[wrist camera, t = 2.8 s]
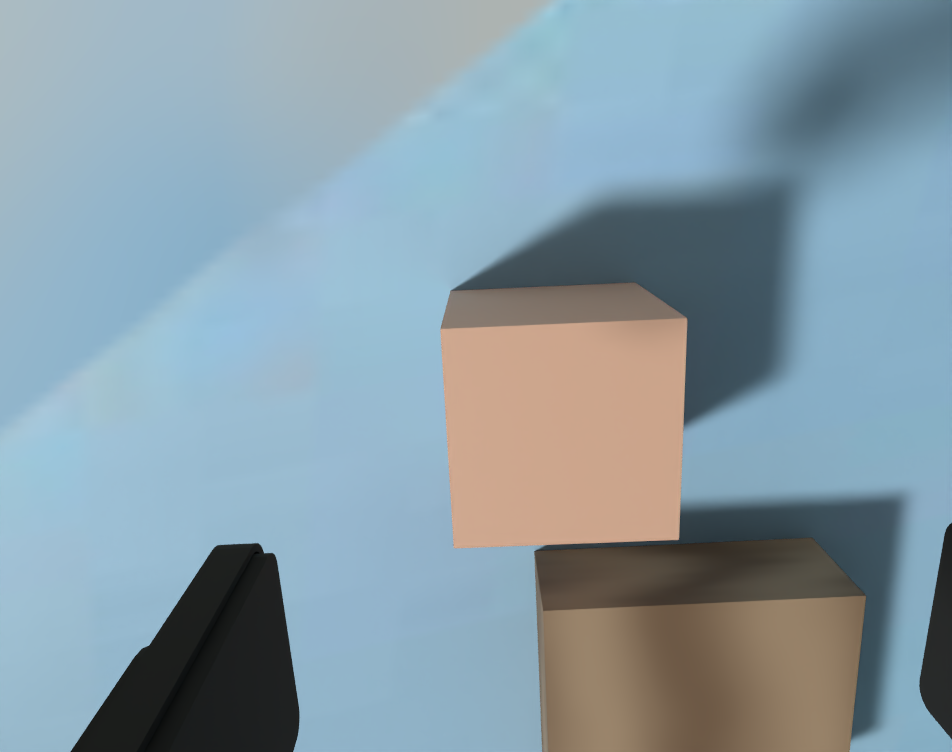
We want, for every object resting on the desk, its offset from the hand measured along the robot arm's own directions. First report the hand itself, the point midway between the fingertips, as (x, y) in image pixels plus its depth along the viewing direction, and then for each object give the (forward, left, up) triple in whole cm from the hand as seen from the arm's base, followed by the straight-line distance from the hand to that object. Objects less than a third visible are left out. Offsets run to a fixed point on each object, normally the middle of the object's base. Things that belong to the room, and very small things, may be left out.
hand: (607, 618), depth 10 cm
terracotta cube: (0, +1, -14) cm, 14 cm away
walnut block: (-5, +12, -15) cm, 20 cm away
